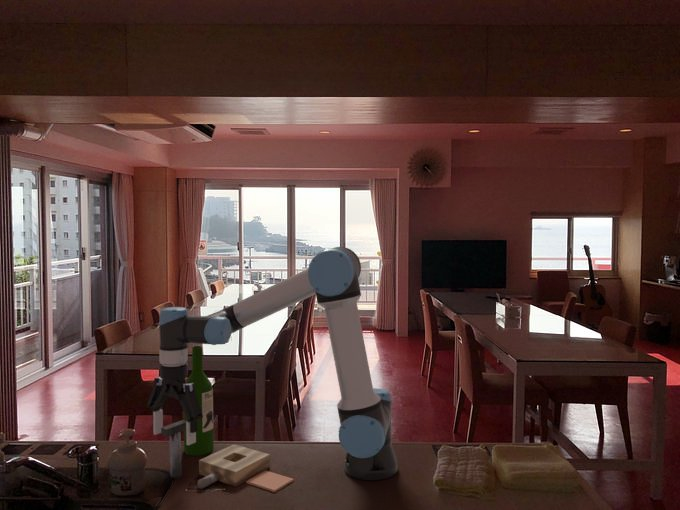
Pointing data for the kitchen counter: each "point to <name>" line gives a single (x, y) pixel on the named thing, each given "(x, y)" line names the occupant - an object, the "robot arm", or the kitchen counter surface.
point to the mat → (270, 481)
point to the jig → (232, 466)
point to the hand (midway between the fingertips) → (174, 438)
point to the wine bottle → (206, 404)
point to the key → (174, 446)
